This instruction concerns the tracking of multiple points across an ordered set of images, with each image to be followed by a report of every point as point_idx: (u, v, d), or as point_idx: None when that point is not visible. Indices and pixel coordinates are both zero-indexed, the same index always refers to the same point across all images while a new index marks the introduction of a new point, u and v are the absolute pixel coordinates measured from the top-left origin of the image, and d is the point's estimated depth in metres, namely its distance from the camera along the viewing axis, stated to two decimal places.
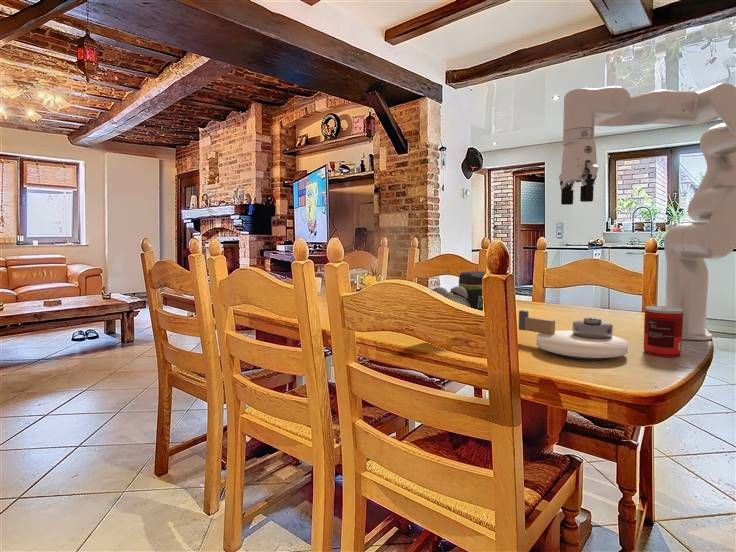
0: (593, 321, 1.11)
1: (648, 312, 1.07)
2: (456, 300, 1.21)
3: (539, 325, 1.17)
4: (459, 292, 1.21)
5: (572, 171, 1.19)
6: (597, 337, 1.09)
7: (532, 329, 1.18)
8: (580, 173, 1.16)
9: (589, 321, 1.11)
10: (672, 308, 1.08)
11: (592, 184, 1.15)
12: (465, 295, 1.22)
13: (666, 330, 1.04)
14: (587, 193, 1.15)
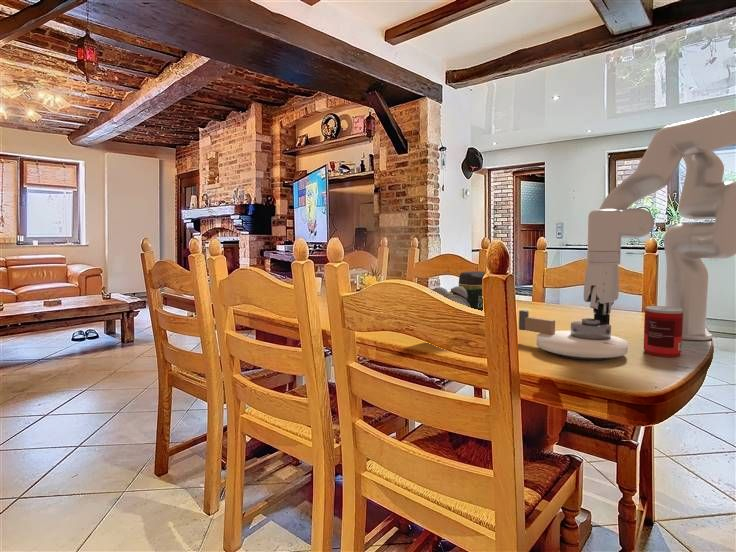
0: (591, 322, 1.10)
1: (648, 312, 1.07)
2: (456, 300, 1.21)
3: (539, 325, 1.17)
4: (459, 292, 1.21)
5: (614, 293, 1.15)
6: (595, 338, 1.08)
7: (532, 329, 1.19)
8: None
9: (587, 322, 1.11)
10: (672, 308, 1.08)
11: None
12: (465, 295, 1.22)
13: (666, 330, 1.04)
14: None
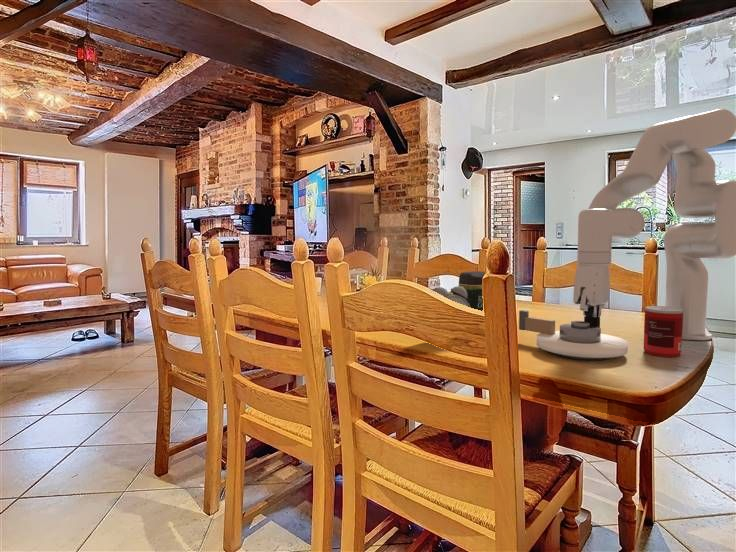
0: (580, 324, 1.07)
1: (648, 312, 1.07)
2: (456, 300, 1.21)
3: (539, 325, 1.17)
4: (459, 292, 1.21)
5: (605, 295, 1.12)
6: (584, 341, 1.05)
7: (532, 329, 1.19)
8: None
9: (576, 324, 1.07)
10: (672, 308, 1.08)
11: None
12: (465, 295, 1.22)
13: (666, 330, 1.04)
14: None
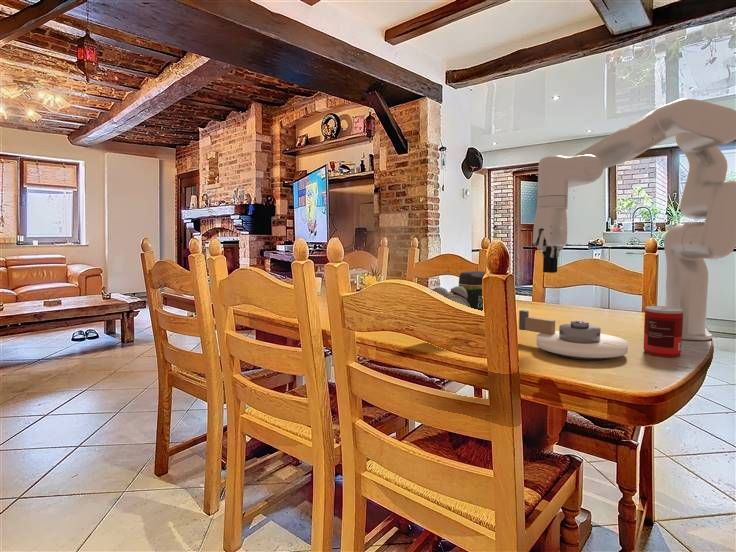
0: (580, 325, 1.07)
1: (648, 312, 1.07)
2: (456, 300, 1.21)
3: (539, 325, 1.17)
4: (459, 292, 1.21)
5: (562, 237, 1.20)
6: (584, 341, 1.04)
7: (532, 329, 1.19)
8: None
9: (576, 324, 1.07)
10: (672, 308, 1.08)
11: None
12: (465, 295, 1.22)
13: (666, 330, 1.04)
14: None
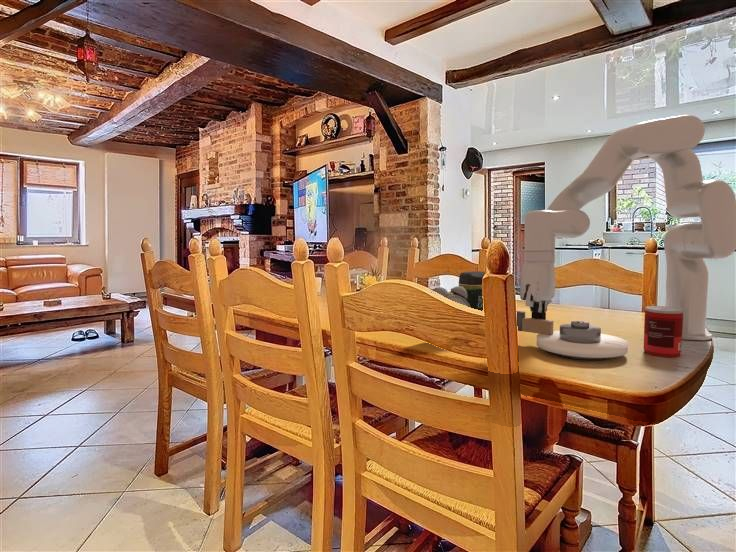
0: (581, 325, 1.07)
1: (648, 312, 1.07)
2: (456, 300, 1.21)
3: (537, 326, 1.16)
4: (459, 292, 1.21)
5: (550, 291, 1.18)
6: (586, 341, 1.04)
7: (530, 330, 1.18)
8: None
9: (577, 325, 1.07)
10: (672, 308, 1.08)
11: None
12: (465, 295, 1.22)
13: (666, 330, 1.04)
14: None
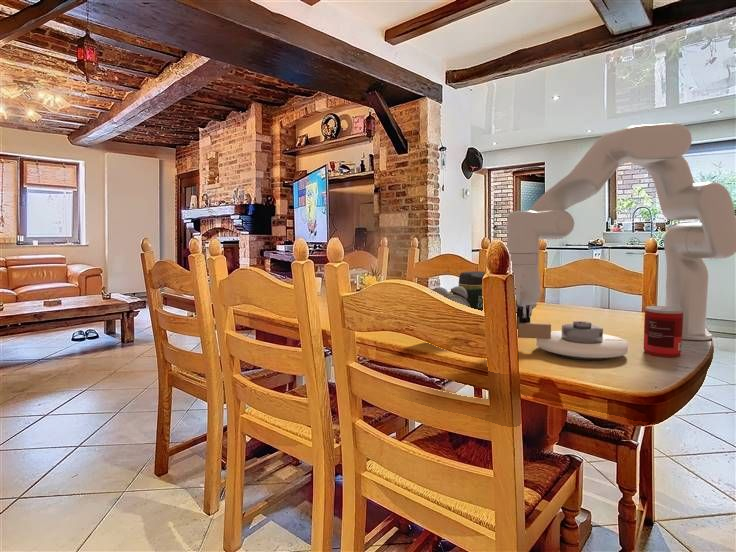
0: (588, 325, 1.07)
1: (648, 312, 1.07)
2: (456, 300, 1.21)
3: (536, 330, 1.10)
4: (459, 292, 1.21)
5: (534, 295, 1.13)
6: (599, 341, 1.05)
7: (527, 335, 1.11)
8: None
9: (585, 325, 1.06)
10: (672, 308, 1.08)
11: None
12: (465, 295, 1.22)
13: (666, 330, 1.04)
14: None
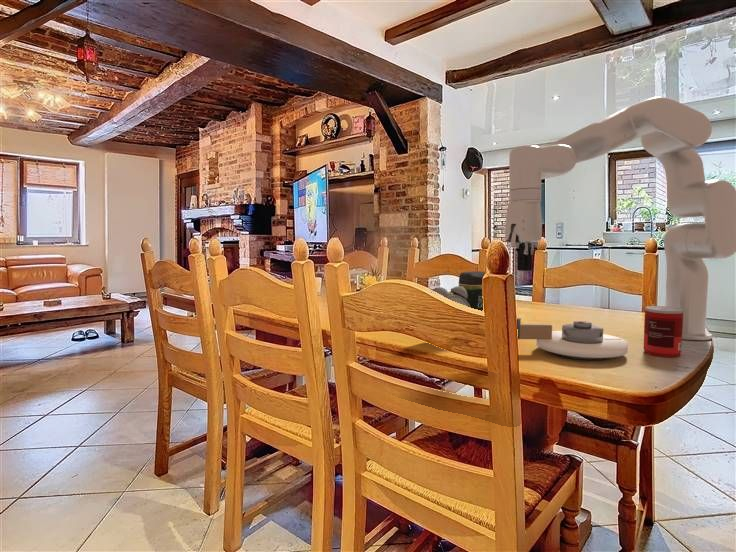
0: (589, 325, 1.07)
1: (648, 312, 1.07)
2: (456, 300, 1.21)
3: (537, 331, 1.09)
4: (459, 292, 1.21)
5: (536, 233, 1.13)
6: (600, 341, 1.05)
7: (529, 336, 1.10)
8: None
9: (586, 325, 1.06)
10: (672, 308, 1.08)
11: None
12: (465, 295, 1.22)
13: (666, 330, 1.04)
14: None
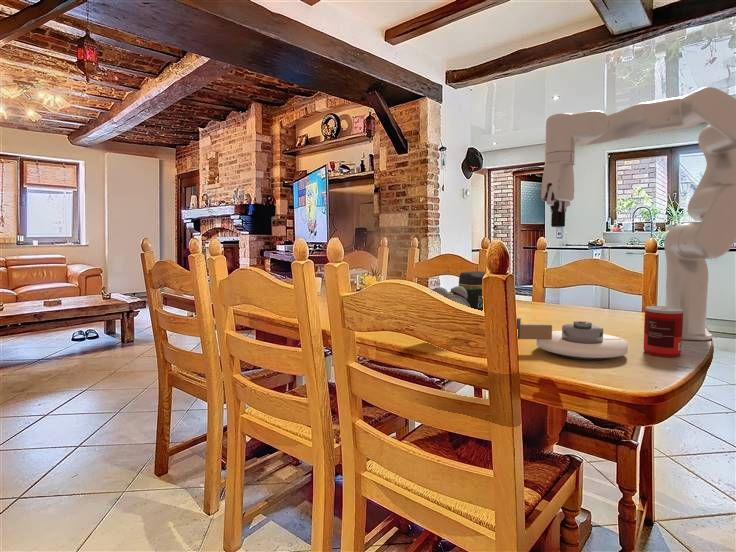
0: (589, 325, 1.07)
1: (648, 312, 1.07)
2: (456, 300, 1.21)
3: (537, 331, 1.09)
4: (459, 292, 1.21)
5: (569, 192, 1.25)
6: (600, 341, 1.05)
7: (529, 336, 1.10)
8: None
9: (586, 325, 1.06)
10: (672, 308, 1.08)
11: None
12: (465, 295, 1.22)
13: (666, 330, 1.04)
14: None
